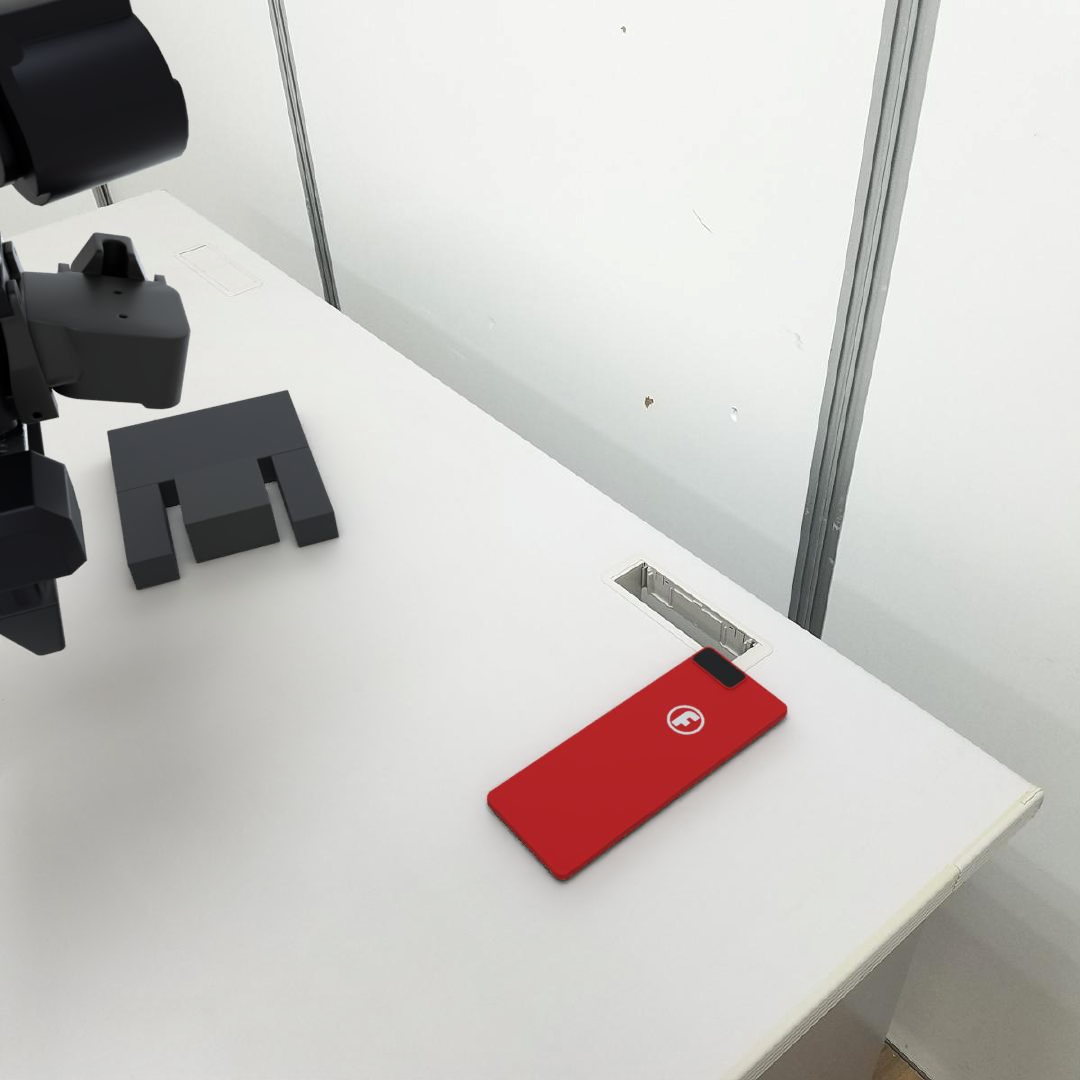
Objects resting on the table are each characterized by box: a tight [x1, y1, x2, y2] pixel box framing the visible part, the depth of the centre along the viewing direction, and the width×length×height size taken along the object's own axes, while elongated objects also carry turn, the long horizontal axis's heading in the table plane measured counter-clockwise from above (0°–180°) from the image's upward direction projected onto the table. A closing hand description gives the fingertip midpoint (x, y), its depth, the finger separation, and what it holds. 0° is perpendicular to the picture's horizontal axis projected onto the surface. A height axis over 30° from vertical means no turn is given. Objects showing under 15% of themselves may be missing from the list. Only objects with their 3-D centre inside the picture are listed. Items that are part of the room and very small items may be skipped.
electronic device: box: [486, 646, 788, 881], centre depth 56 cm, size 6×1×15 cm
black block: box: [174, 456, 281, 564], centre depth 69 cm, size 5×5×3 cm
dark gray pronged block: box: [106, 389, 340, 590], centre depth 72 cm, size 12×14×2 cm
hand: (46, 578), depth 50 cm, fingers open, 9 cm apart
